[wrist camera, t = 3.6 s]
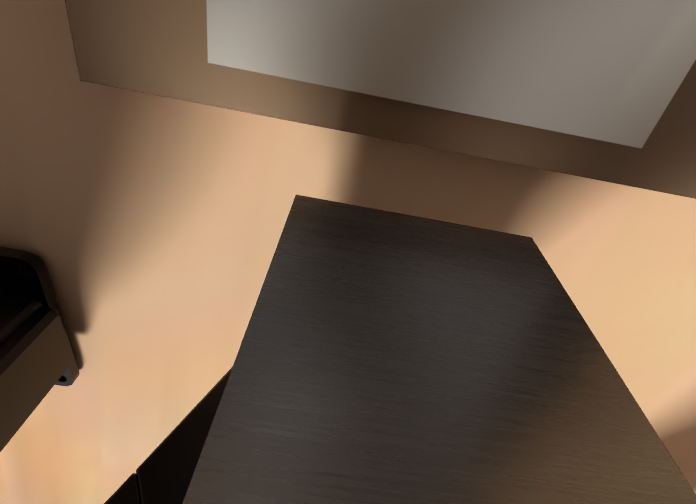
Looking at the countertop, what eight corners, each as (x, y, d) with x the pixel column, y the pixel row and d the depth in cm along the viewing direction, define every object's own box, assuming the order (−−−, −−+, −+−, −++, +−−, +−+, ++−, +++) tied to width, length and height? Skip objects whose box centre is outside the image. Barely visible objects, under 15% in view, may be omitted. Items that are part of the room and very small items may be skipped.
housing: (272, 402, 12) (177, 796, 6) (296, 194, 8) (97, 734, 2) (433, 427, 12) (490, 826, 6) (531, 237, 8) (903, 818, 2)
